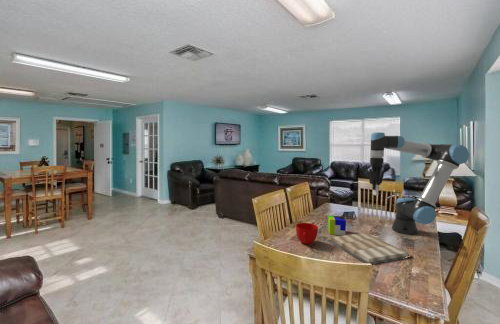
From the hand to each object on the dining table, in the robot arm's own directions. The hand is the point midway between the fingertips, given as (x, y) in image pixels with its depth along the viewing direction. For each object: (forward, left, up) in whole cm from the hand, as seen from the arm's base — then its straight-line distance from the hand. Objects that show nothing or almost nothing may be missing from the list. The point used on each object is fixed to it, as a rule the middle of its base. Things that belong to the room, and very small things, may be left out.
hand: (375, 194), depth 160 cm
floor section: (+16, +12, -28) cm, 34 cm away
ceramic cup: (+46, -5, -28) cm, 54 cm away
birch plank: (+16, +22, -28) cm, 39 cm away
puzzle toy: (+16, -16, -28) cm, 36 cm away
